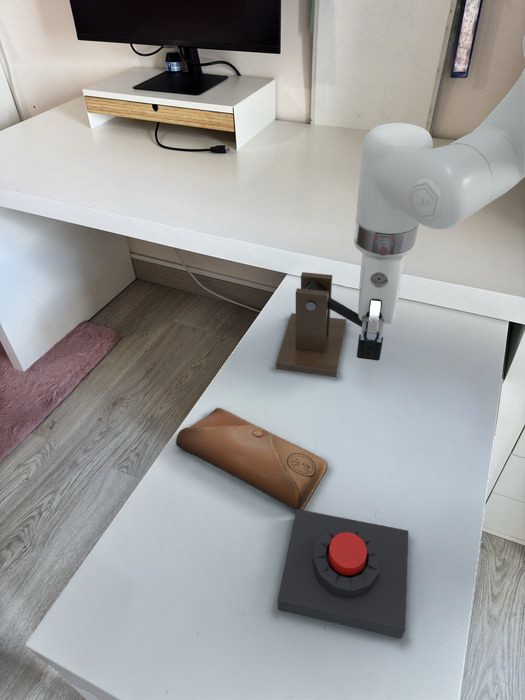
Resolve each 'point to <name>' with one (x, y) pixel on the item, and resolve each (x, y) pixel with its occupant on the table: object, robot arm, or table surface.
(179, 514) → the table surface
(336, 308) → the lever
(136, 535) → the table surface
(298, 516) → the stop block
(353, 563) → the stop button
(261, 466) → the sunglasses case
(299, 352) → the bracket
